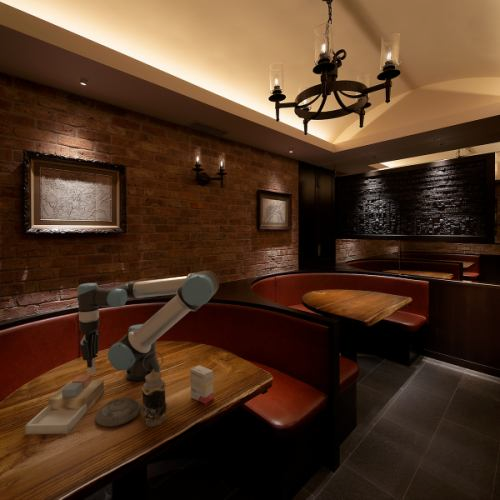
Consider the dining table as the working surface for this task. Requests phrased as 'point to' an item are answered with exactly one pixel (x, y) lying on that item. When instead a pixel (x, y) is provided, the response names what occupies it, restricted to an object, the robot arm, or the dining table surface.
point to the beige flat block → (78, 397)
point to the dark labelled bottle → (153, 398)
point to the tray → (54, 421)
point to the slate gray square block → (72, 390)
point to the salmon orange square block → (83, 380)
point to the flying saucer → (118, 412)
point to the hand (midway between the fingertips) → (91, 373)
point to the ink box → (201, 384)
